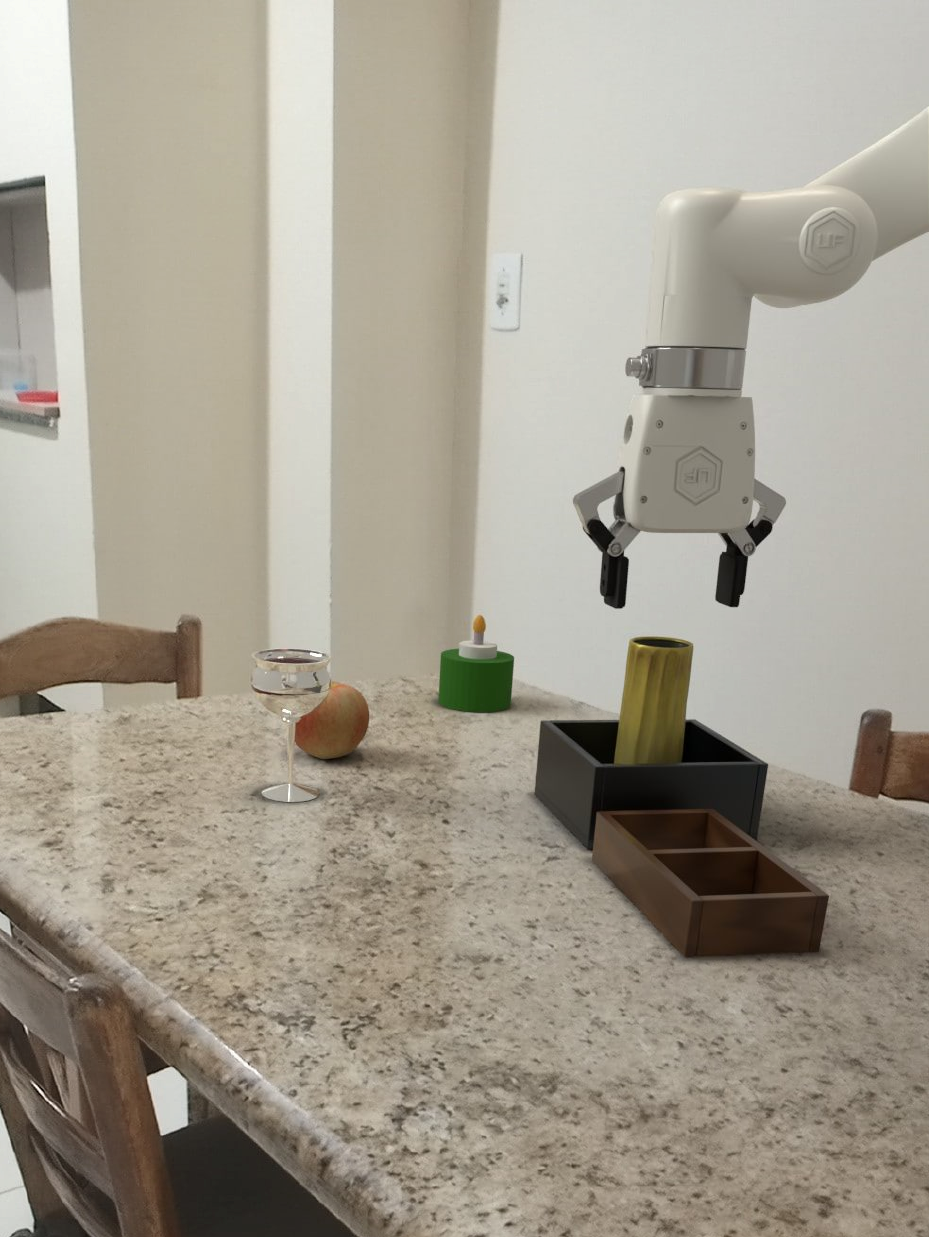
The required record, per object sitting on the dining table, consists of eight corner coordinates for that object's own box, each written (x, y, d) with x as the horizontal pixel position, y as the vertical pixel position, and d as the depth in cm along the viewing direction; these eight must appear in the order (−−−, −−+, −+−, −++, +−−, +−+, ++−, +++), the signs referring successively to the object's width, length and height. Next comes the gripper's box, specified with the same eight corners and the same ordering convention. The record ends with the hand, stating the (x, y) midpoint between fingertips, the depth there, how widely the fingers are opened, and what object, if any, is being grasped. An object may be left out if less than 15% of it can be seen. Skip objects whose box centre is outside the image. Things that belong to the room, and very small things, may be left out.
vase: (680, 803, 113) (700, 639, 108) (676, 824, 107) (698, 652, 102) (610, 795, 114) (627, 632, 109) (602, 815, 109) (620, 645, 103)
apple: (305, 770, 120) (306, 684, 117) (273, 748, 127) (273, 666, 124) (382, 762, 124) (385, 679, 121) (348, 741, 130) (349, 662, 127)
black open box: (686, 791, 119) (695, 719, 117) (756, 844, 106) (768, 764, 104) (534, 794, 116) (540, 720, 114) (587, 849, 103) (595, 766, 100)
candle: (516, 699, 151) (522, 612, 147) (504, 715, 144) (510, 624, 140) (446, 692, 153) (451, 606, 149) (431, 707, 145) (435, 617, 142)
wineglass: (287, 810, 109) (288, 668, 104) (235, 791, 113) (234, 653, 108) (345, 795, 113) (348, 658, 109) (293, 777, 118) (294, 645, 113)
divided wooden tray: (706, 856, 103) (713, 808, 101) (819, 951, 86) (829, 895, 85) (591, 860, 101) (596, 811, 99) (684, 958, 84) (692, 900, 83)
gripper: (600, 372, 93) (583, 614, 99) (821, 378, 96) (791, 612, 103) (567, 373, 100) (553, 599, 106) (775, 378, 103) (749, 597, 110)
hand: (670, 605), depth 104 cm, fingers open, 9 cm apart
